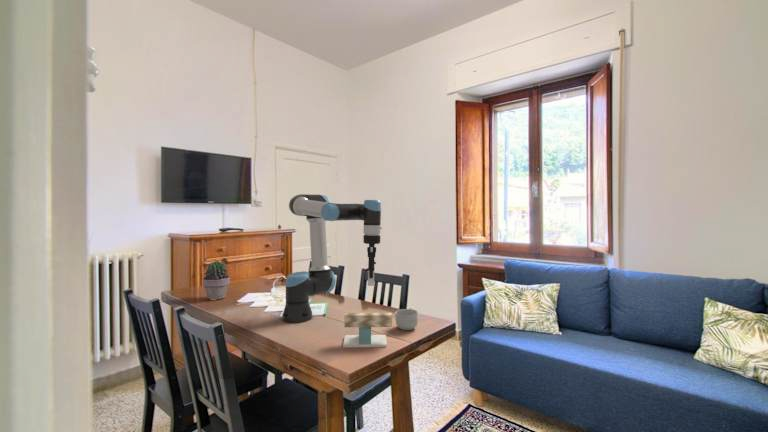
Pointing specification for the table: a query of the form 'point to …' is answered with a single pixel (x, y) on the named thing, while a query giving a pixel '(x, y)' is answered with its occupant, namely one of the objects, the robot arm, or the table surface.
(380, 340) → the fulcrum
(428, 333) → the table surface
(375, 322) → the beige mottled long block
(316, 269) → the robot arm
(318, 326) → the table surface
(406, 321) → the teacup
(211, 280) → the potted plant
